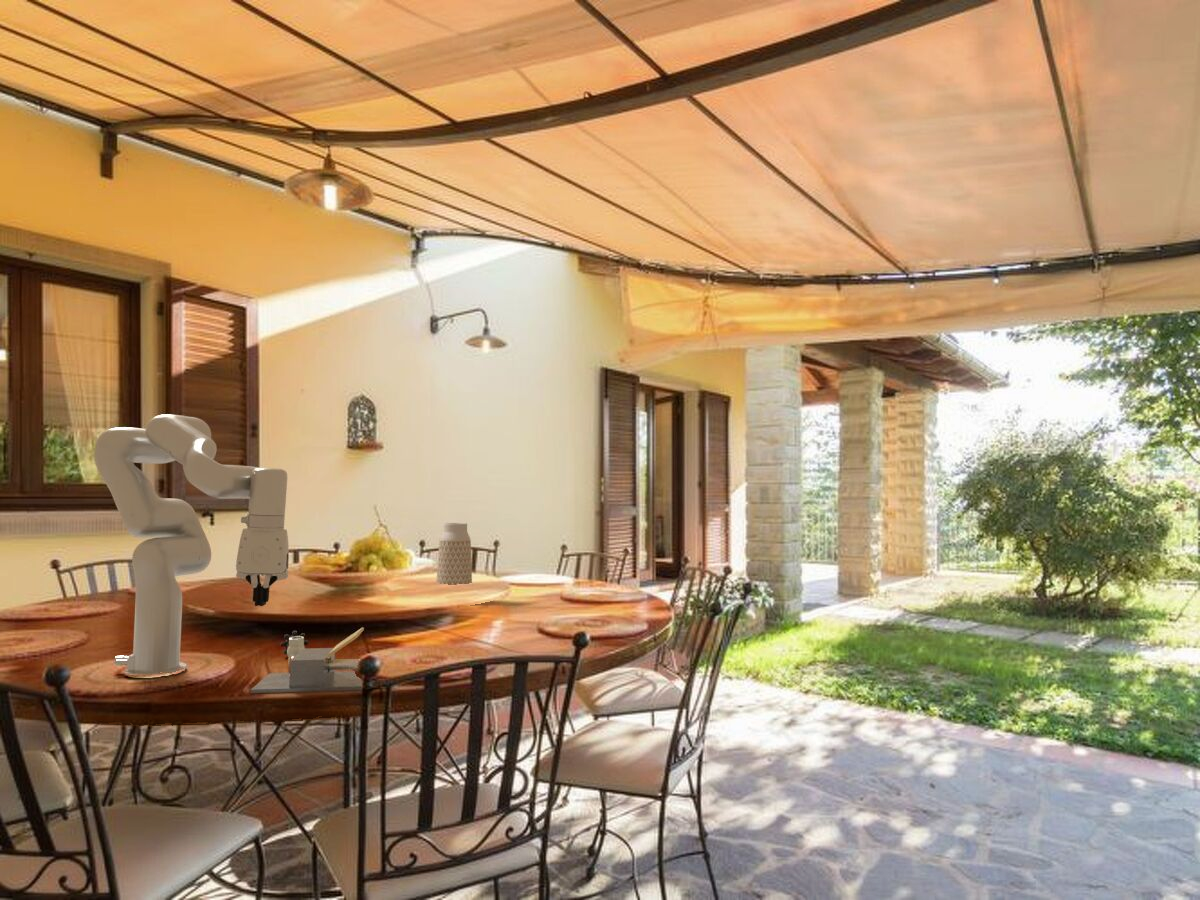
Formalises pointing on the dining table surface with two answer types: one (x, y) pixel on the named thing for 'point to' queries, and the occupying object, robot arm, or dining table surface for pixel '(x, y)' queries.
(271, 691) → the grey base plate
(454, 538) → the vase
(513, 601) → the dining table surface
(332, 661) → the pin
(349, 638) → the keeper flap
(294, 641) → the valve
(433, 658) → the dining table surface
